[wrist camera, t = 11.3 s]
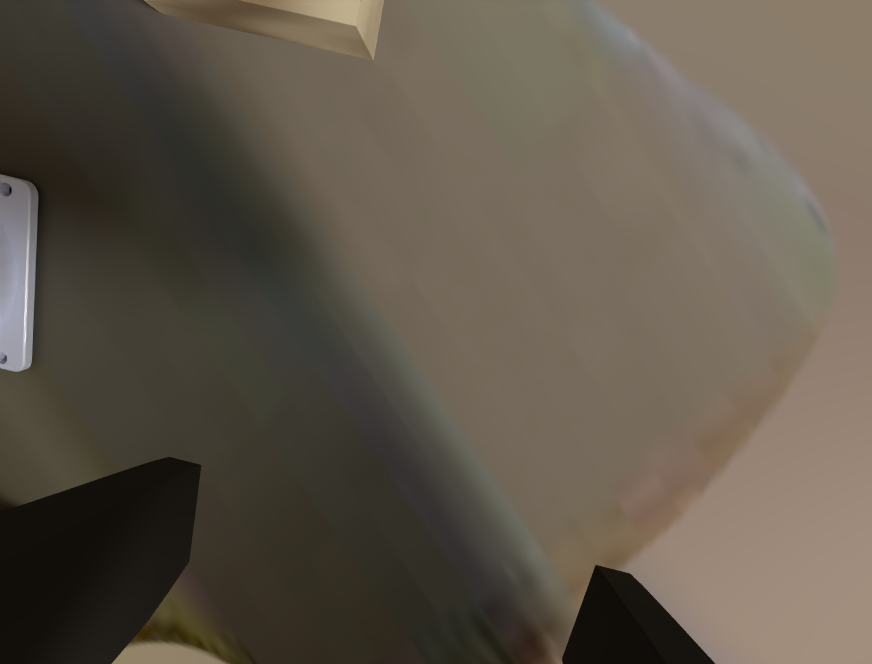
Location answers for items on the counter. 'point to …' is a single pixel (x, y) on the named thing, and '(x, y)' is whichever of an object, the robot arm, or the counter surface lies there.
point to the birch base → (291, 20)
